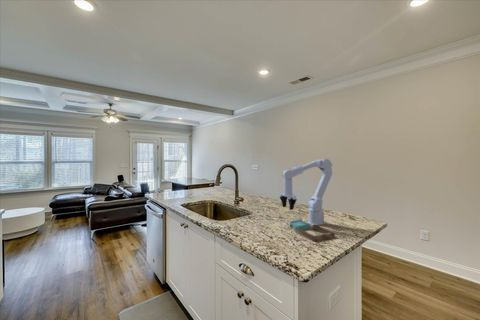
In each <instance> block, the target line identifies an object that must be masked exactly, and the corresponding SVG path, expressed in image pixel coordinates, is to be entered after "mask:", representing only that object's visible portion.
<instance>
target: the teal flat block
mask: <svg viewBox="0 0 480 320" xmlns="http://www.w3.org/2000/svg"><path fill="white" fill-rule="evenodd" d="M306 222H307V221H303V219H301V218H297V219H294V220H292V219H291V220H289V227H290V228H291V229H294V230H295V228H299V229H301V230H303V231H305V230H310V229H311V228H310V226H311V224H309V223H306Z"/></svg>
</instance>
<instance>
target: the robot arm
mask: <svg viewBox="0 0 480 320" xmlns="http://www.w3.org/2000/svg"><path fill="white" fill-rule="evenodd" d="M315 167H316V168H318V169H319V170H320V171H321V173H322V175H321V177H320V180H319V182H318V184H317V188H316V189H315V192H314V194H313V195H312V196H311V198H310V199H308V202H307V206H308V207H309V208H308V221H307V220H306V221H305V222H306V223H308V224H310V226H311V225H312V226H313V225H317V226H323V225H325V224H326V223H325V214H324V211H323V210H322V209H323V196H324V194H325V193H326V190H327V187H328V185H329V183H330V180H331V178H332V175H333V169H332V167H333V164H332V161H331V160H330V159H329V158H325V159H324V158H319V159H315V160H313V161H310V162H308V163H306V164H304V165H295V166H293V167H292V168H288V169H285V170H283V172H282V177H283V192H280V193H279V199H280V202H281V205H282V207H283V208H287V200H288V203H289V210H290V211H291V210H294V207H295V204H296V202H297V201H298V200H297V195H294V194H293V178H294V177H296V176H299V175H301V174H303V173H304V172H305V171H306V170H309V169H313V168H315Z"/></svg>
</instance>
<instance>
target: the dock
mask: <svg viewBox="0 0 480 320" xmlns="http://www.w3.org/2000/svg"><path fill="white" fill-rule="evenodd" d="M312 229H313V230H314V231H317V232H320V233H321V234H316V235H314V234H311V233H309V232H307V231H305V230H301V229H299V228H295V229H294V232H295V233H296V234H298V235H301V236H302V237H304V238H306V239H308V240H310V241H312V242H319V241H322V240H323V241H324V240H327V239H332V238H335V235H336V234H335V232H334V231H332V230H329V229H326V228H325V227H321V226H320V225H312Z"/></svg>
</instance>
